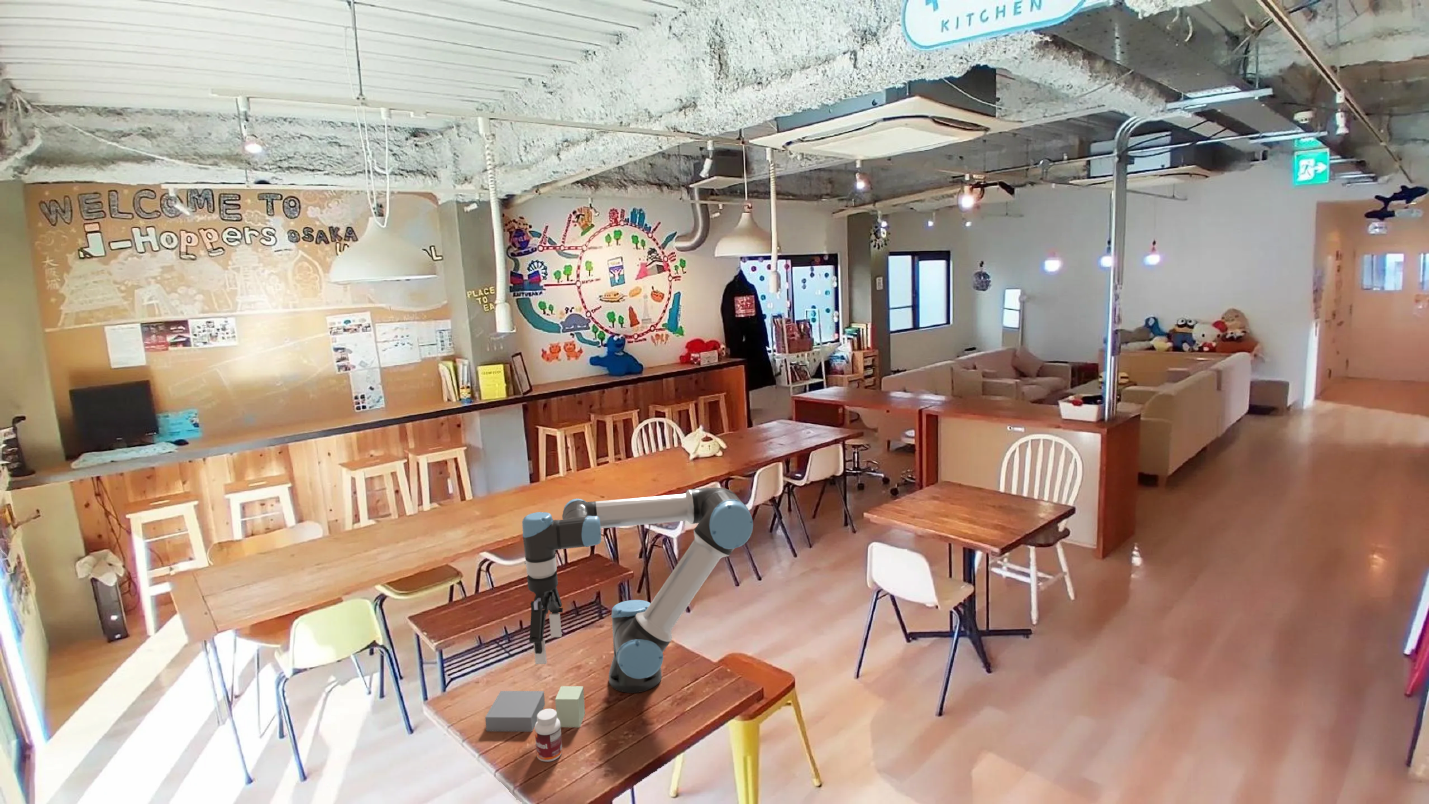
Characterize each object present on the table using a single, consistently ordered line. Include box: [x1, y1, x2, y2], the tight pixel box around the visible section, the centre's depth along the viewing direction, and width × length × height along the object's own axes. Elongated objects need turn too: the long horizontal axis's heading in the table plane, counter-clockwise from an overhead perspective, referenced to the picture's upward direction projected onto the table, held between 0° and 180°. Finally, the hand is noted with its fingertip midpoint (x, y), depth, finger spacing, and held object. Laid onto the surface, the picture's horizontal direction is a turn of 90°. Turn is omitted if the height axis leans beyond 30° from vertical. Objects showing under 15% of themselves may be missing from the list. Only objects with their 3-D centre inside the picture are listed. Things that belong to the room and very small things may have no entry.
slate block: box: [484, 690, 546, 733], centre depth 196 cm, size 12×12×4 cm
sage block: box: [554, 685, 586, 728], centre depth 194 cm, size 6×6×8 cm
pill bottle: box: [534, 708, 563, 763], centre depth 180 cm, size 6×6×11 cm
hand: (549, 649), depth 193 cm, fingers open, 13 cm apart
